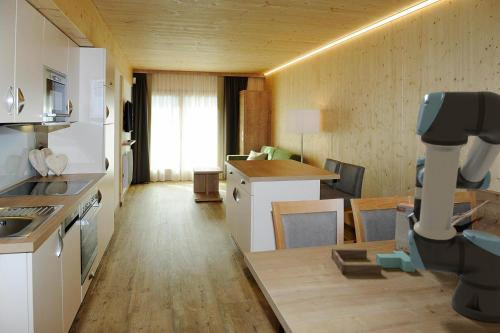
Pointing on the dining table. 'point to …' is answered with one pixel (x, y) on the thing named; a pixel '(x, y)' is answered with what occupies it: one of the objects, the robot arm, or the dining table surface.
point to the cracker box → (403, 227)
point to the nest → (354, 268)
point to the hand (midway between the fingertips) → (421, 257)
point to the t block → (395, 261)
